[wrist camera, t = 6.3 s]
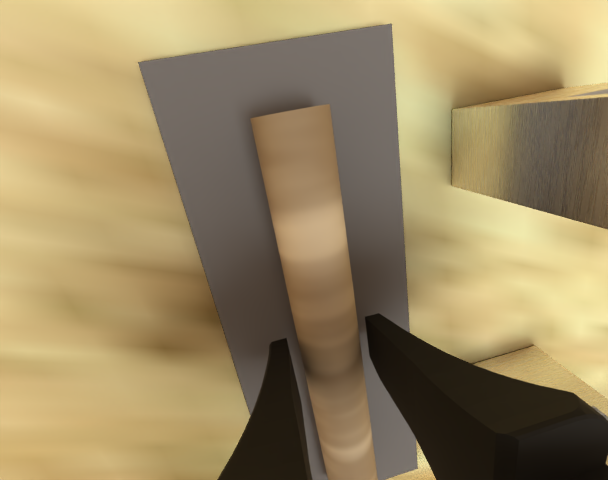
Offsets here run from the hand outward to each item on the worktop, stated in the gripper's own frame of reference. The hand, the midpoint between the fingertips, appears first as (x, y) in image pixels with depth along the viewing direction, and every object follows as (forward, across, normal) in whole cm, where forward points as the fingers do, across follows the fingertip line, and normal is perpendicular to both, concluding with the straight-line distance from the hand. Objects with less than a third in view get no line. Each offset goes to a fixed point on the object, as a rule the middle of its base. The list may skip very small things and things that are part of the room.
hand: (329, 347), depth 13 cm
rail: (0, 0, 0) cm, 0 cm away
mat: (+2, 0, 0) cm, 2 cm away
